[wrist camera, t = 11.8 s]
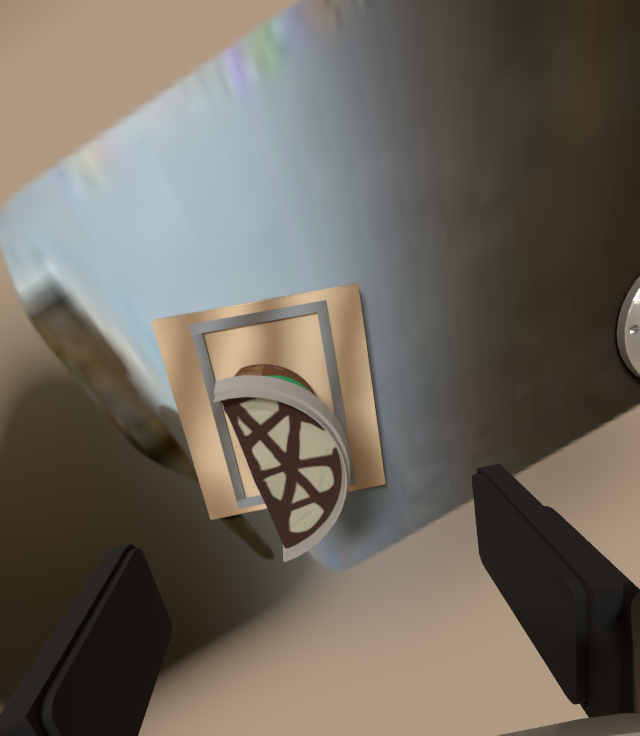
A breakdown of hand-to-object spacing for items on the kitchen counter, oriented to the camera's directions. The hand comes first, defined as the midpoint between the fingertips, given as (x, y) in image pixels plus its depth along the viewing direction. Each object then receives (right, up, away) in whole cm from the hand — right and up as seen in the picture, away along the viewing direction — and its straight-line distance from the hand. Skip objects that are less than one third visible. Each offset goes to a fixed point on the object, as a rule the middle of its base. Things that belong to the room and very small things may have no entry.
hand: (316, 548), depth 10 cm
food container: (-2, +2, +21) cm, 21 cm away
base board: (-3, +2, +22) cm, 22 cm away
